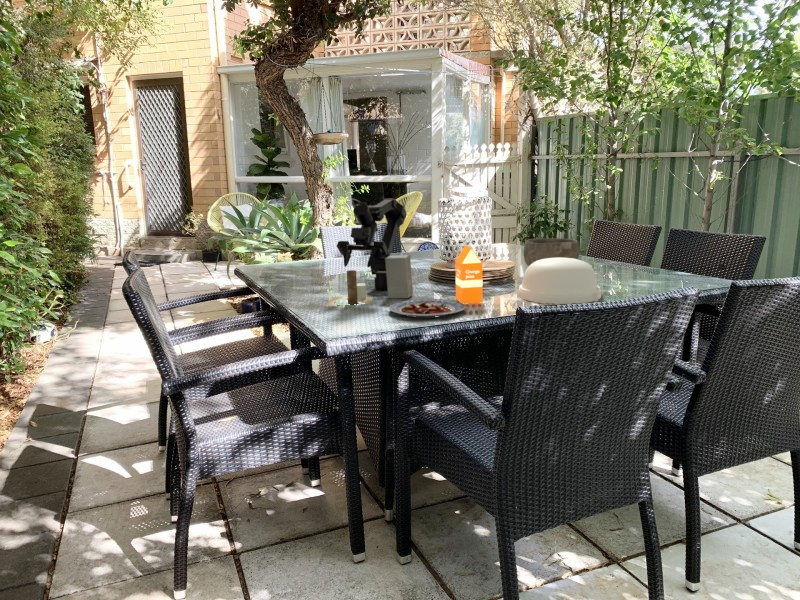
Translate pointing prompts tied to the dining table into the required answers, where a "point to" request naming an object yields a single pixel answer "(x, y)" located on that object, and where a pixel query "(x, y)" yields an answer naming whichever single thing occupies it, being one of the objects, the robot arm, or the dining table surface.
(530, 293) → the dome cover
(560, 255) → the bowl
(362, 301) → the board
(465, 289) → the orange juice
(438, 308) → the ceramic plate
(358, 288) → the grey green block
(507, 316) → the dining table surface
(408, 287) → the skincare box
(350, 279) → the peg
